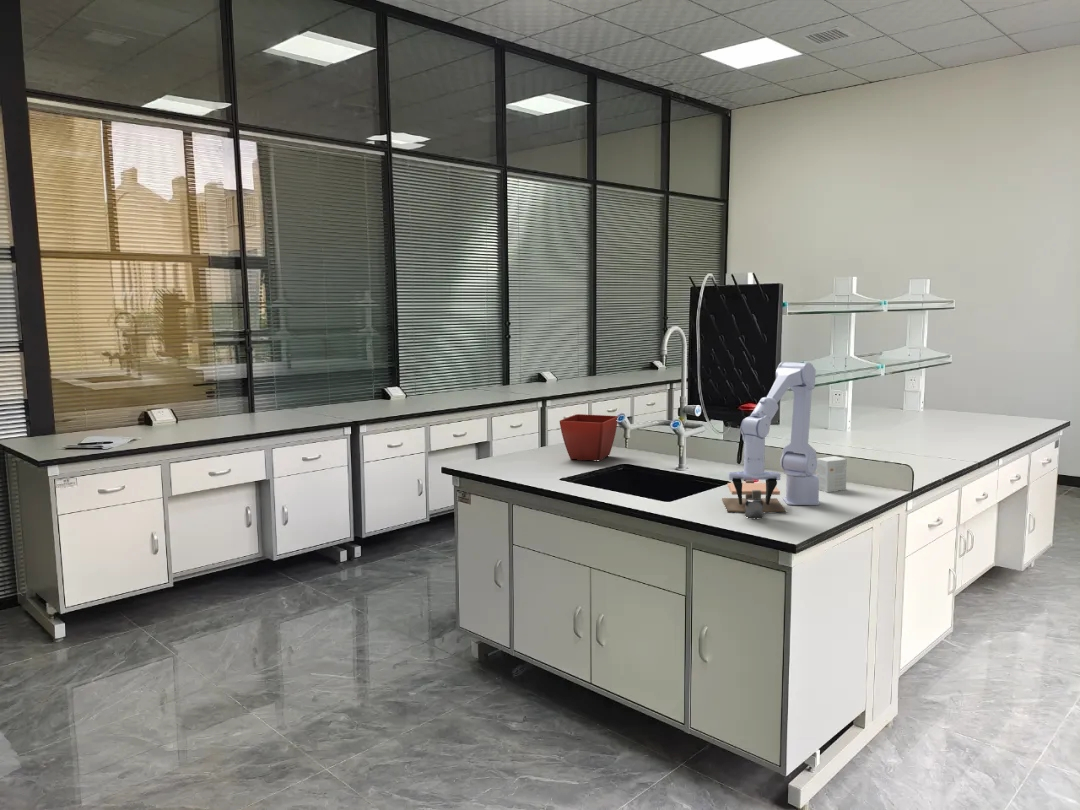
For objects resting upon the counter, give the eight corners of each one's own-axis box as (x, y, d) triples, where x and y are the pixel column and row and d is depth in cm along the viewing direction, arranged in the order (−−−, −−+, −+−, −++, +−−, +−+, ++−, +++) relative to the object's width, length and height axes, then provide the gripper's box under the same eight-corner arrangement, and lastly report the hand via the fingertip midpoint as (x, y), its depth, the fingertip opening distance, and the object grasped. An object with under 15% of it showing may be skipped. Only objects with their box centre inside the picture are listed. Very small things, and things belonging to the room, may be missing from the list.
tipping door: (773, 485, 240) (773, 482, 240) (780, 494, 229) (780, 491, 229) (727, 485, 242) (727, 482, 242) (732, 494, 231) (732, 491, 231)
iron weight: (761, 514, 227) (761, 498, 226) (764, 519, 222) (764, 502, 221) (743, 514, 227) (744, 498, 227) (746, 519, 222) (746, 502, 222)
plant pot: (603, 464, 305) (602, 422, 303) (559, 461, 313) (558, 420, 311) (619, 455, 322) (619, 415, 320) (577, 452, 330) (576, 414, 328)
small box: (834, 486, 258) (835, 455, 257) (846, 490, 253) (847, 458, 252) (815, 489, 256) (815, 458, 254) (827, 492, 250) (827, 461, 249)
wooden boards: (776, 500, 243) (777, 480, 242) (786, 512, 228) (786, 491, 227) (721, 499, 245) (722, 480, 244) (727, 512, 230) (727, 491, 229)
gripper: (730, 460, 219) (730, 507, 221) (782, 460, 218) (782, 507, 219) (727, 456, 226) (727, 501, 228) (778, 456, 224) (777, 501, 226)
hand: (753, 503), depth 224 cm, fingers open, 7 cm apart
